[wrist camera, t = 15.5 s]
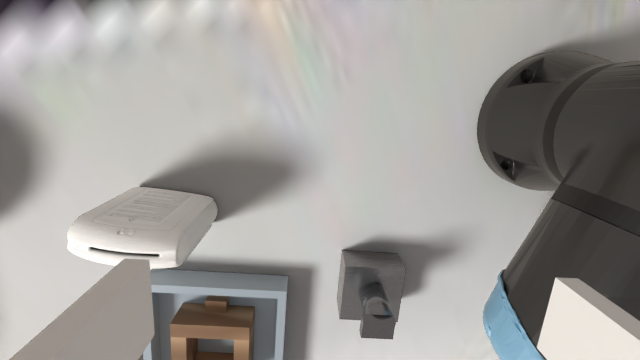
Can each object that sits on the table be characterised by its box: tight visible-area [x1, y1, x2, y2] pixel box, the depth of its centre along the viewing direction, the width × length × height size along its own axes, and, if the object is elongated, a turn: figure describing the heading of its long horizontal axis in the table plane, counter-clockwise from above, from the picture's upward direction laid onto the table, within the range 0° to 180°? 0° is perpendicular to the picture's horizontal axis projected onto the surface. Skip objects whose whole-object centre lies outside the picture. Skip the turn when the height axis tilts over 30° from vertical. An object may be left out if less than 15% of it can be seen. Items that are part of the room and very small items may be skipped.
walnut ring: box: [170, 295, 255, 360], centre depth 41 cm, size 10×9×4 cm
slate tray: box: [143, 269, 288, 360], centre depth 42 cm, size 17×17×4 cm
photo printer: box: [67, 187, 218, 269], centre depth 34 cm, size 10×4×12 cm, turn 81°
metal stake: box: [337, 250, 406, 339], centre depth 38 cm, size 7×7×10 cm
